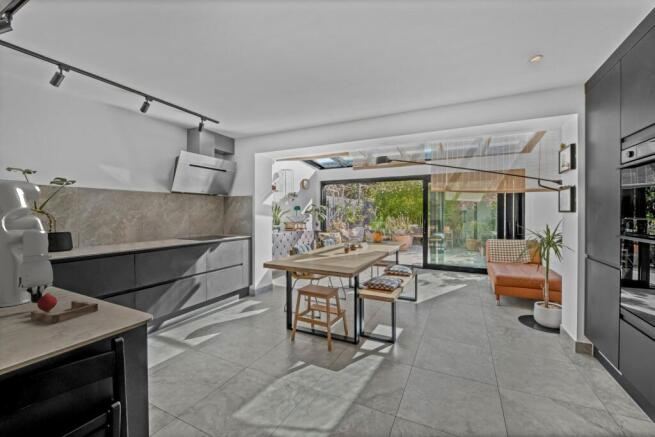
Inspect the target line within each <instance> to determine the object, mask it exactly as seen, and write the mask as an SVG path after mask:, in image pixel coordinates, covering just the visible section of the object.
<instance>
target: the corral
mask: <svg viewBox="0 0 655 437" xmlns="http://www.w3.org/2000/svg"><path fill="white" fill-rule="evenodd" d="M70 303H71V306H70V307H71V309H70V310H66V311H63V312H59V313H52V312H45V311H43V310H32V311H30V320H31V321H32V320H33V321H38V322H43V323H49V324H54V325H55V324H59V323H62V322H65V321H68V320H69V321H70V320H73V319H76V318H78V317H82V316H85V315H89V314H92V313H96V312H99V304H98V303H95V302H88V301H81V300H72V301H70ZM72 308H73V309H72Z"/></svg>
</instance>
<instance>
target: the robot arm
mask: <svg viewBox="0 0 655 437" xmlns="http://www.w3.org/2000/svg"><path fill="white" fill-rule="evenodd" d="M41 197H42V191H41V188H40V187H39V186H38V185H37V184H35V183H33V182H29V181H26V180H15V179H3V178H2V179H0V308H4V307H12V306H13V307H14V306H19V305H23V304H27V303H30V302H31V303H33V304H37V303H38V301H39V299H40V298H41V297H43V293H44V292H45V290H46V289H47V288H49V287H51V286H53V281H54V275H53V273H54V272H53V267H52V264H51V261H50V259H51V258H52V254H49V238H48V237H49V236H48V235H49V233H48V231H47V230H45V228H44V226H43V223H42V220H41V219H40V218H39V217H38V216H37V215H34V214H30V213H31V207H30V205H29V202H37V201H39V200H40V199H41ZM21 255H22V256H21ZM29 294H30V296H29Z"/></svg>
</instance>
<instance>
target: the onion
mask: <svg viewBox="0 0 655 437" xmlns="http://www.w3.org/2000/svg"><path fill="white" fill-rule="evenodd" d="M57 303H58V299H57V298H56V296H54V295H52V294H50V292H46V293H45V294H44V295H42V297H41V298H40V299H39V301H38V303H36V305H37V308H38V309H39V311H42V312H48V313H50V311H51V310H53V309H54V308H55V307H56V306H57Z"/></svg>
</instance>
